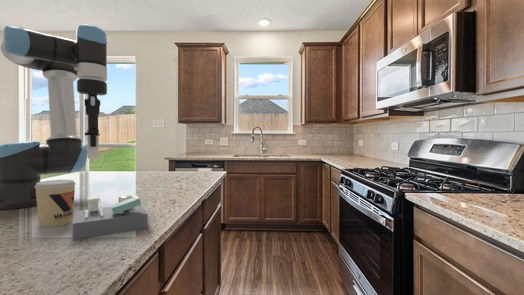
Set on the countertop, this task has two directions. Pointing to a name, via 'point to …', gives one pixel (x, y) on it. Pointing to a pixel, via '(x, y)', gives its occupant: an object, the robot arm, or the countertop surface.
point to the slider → (93, 203)
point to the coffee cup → (55, 202)
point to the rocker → (125, 205)
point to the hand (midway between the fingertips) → (93, 157)
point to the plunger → (124, 198)
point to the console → (108, 221)
